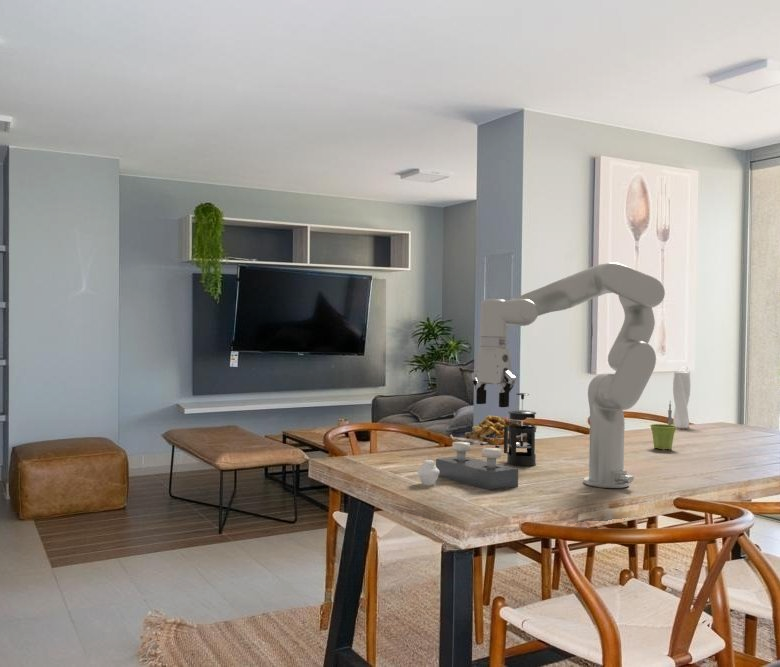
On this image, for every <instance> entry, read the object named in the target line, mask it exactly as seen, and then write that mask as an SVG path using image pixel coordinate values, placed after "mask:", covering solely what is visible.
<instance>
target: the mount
mask: <svg viewBox="0 0 780 667" xmlns="http://www.w3.org/2000/svg"><path fill="white" fill-rule="evenodd" d="M435 466H436V467H437V468H438V470H439V471H440V473H439V475H438V477H440V478H444V479H448V480H450V481H454V482H458V483H462V484H466V485H468V486H472V487H476V488H480V489H484V490H488V491H491V492H492V491H498V490H505V489H513V488H518V487H519V468H517V467H514V466H510V465H508V466H507V465H504V464H503V465H502V464H500V463H496V468H495V469H489V468H487V460H482V459H481V460H480V459H476V458H474V457H467V456H466V461H463V462H459V461H457V456H450V457H440V458H435Z"/></svg>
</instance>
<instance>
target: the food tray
mask: <svg viewBox="0 0 780 667" xmlns="http://www.w3.org/2000/svg"><path fill="white" fill-rule="evenodd" d="M521 422H522V420H513V419H510V418H509V417H504V418H503V417H502V416H496V415H489V414H488V415H487V416H485V418H484V419H483V420H482V421H481V422H478V424H477V425H476V426H472V427H471V428H472V429H471V430H472V431H469V432H464V437H456V436H453V434H452V433H451V434H450V435H449V439H450V440H451V439H452V440H458V441H460V442H469V443H470V442H471V443H476V444H477V445H478V444H479V445H483V446H486V445H487V446H488V445H494V446H495V447H494V448H501V447H500V446H502V445H504V427H505V426H521ZM523 426H532V427H536V430H537V425H535V424H533V423H530V422H527V421H523ZM520 441H521V433H516V443H520ZM522 441H523V442H525V441H527V433H522ZM508 444H509V431H508Z"/></svg>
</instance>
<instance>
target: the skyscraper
mask: <svg viewBox="0 0 780 667" xmlns="http://www.w3.org/2000/svg"><path fill="white" fill-rule="evenodd" d="M682 368H684V369H685V370H684V369H682ZM688 369H689V367H688V366H678V367H677V368H676V369H675V370H674V371H673V380H672V381H673V382H672V384H673V385H672V392H673V393H672V394H673V401H674V406H675V408H674V413H673V419H672V412H673V410H672V404H671V400H669V404H668V406H669V407H668V408H669V409H668V410H667V413H668V417H667V425H674V426H677V428H679V429H687V428H690V422H689V412H688V411H689V410H688V405H689V401H690V395H691V371H689V370H688ZM672 420H673V421H672Z"/></svg>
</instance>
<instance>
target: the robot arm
mask: <svg viewBox="0 0 780 667" xmlns="http://www.w3.org/2000/svg"><path fill="white" fill-rule="evenodd" d="M665 291H666V290H665V286H664V285H663V283H662V282H661V281H660V280H658V279H657V278H655V277H654V276H651V275H649V274H646V273H643V271H642V272H641V271H639V270H637V269H634V268H632V267H630V266H628V265H625V264H621V263H619V262H615V261H614V262H605V263H600V264H596V265H593V266H590V267H588V268H587V269H583V270H581V271H579V272H576V273H574V274H572V275H568V276H566V277H565V278H564V277H563V278H560V279H558V280H557V281H554V282H552V283H549V284H547V285H545V286H542V287H540V288H537V289H535V290H532V291H529V292H526V293H524V294H522V295H519V296H517V297H513V298H512V299H510V300H509V299H508V300H507V299H501V298H498V299H497V298H487V299H483V300H482V301H481V304H480V326H479V328H480V330H479V336H480V337H479V339H480V340H479V348H478V353H477V359H476V360H477V361H476V369H475V370H474V371H473V372H472V373H471V375H470V376H471V379H472V382H473V383H472V384H473V385H474V389H475V390H476V394H475V397H476V398H475V399H476V400H475V402H476V405H486V404H487V389H486V387H487V386H488V385H497V387H498V389H499V391H500V392H499V393H498V407H499V408H508V407H510V393H511V392H512V389H513V388H514V385H515V382H517V381H516V380H517V378H516V376H515V375H514V374H512V359H511V358H512V357H511V352H510V349H509V348H508V344H509V340H508V326H512V327H516V326H518V327H525V326H529V325H531V324H533V323H534V322H535V321H537V318H538V317H539V316H542V315H546V314H548V313H552V312H560V311H565V310H568V309H572V308H574V307H576V306H579V305H582V304H584V303H586V302H588V301H590V300H593V299H596V298H598V297H600V296H603V295H606V294H615V295H617V296H618V299H619V302H620V304H621V306H622V309H623V312H624V319H623V324H622V325H621V328H620V330H619V332H618V335H617V337H616V338H615V340H614V343H613V344H612V346H611V348H610V350H609V352H608V355H607V362H608V365H609V367H610V368H611V369H612V370H613V371H615V372H614V373H613V374H612V373H601V374H598V375H595V376H594V377H593V378H592V379H591V380H590V383H589V384H588V388H587V401H588V406H589V408H588V409H589V454H588V455H589V456H588V457H589V458H588V459H589V460H588V476H585V477H584V478H582V480H583V483H584V485H587V486H590V487H594V488H605V489H623V488H626V487H629V485H630V484H632V482H633V481H634V480H635V478H634V476H633V475H628V471H627V469H624V463H625V461H624V460H625V458H624V457H625V415H624V411H626V410H629V409H631V408H633V407H634V406H635V405H636V404H637V403H638V402H639V400H640V399H641V396H642V394H643V393H644V391H645V389H646V386H647V384H648V382H649V380H650V379H651V377H652V375H653V372H654V369H655V366H656V364H657V362H656V361H657V357H656V356H657V355H656V352H655V350H654V348H653V346H652V345H650V344H649V342H650V340H651V338H652V336H653V333H654V329H655V324H656V320H655V316H654V311H653V308H655V307H657V306H659V305H660V304H661V303H662V301H664V299H665V295H666V294H665V293H666V292H665Z"/></svg>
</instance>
